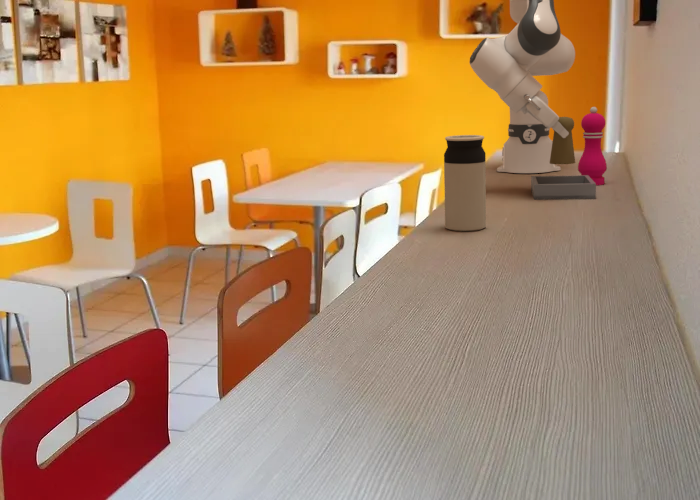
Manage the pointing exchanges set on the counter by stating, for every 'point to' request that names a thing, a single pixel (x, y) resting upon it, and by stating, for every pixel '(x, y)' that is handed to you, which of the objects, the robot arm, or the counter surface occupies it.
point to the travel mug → (465, 183)
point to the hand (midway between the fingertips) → (565, 134)
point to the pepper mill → (593, 147)
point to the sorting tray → (563, 187)
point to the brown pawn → (563, 144)
